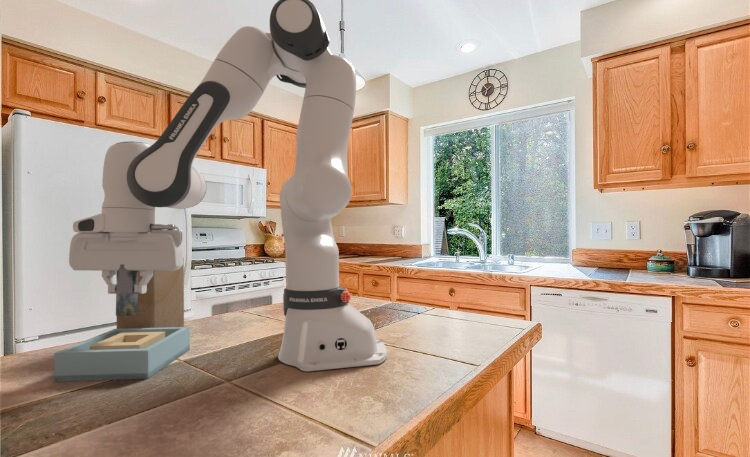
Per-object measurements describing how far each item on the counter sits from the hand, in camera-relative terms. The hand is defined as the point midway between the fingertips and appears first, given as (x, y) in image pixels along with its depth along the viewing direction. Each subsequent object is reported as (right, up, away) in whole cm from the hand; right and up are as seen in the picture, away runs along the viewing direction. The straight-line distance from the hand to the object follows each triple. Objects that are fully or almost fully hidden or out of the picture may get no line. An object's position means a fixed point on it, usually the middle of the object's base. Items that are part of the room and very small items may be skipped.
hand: (127, 293), depth 72 cm
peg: (0, -4, 0) cm, 4 cm away
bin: (+1, -14, 0) cm, 14 cm away
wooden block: (-4, -14, +15) cm, 21 cm away
